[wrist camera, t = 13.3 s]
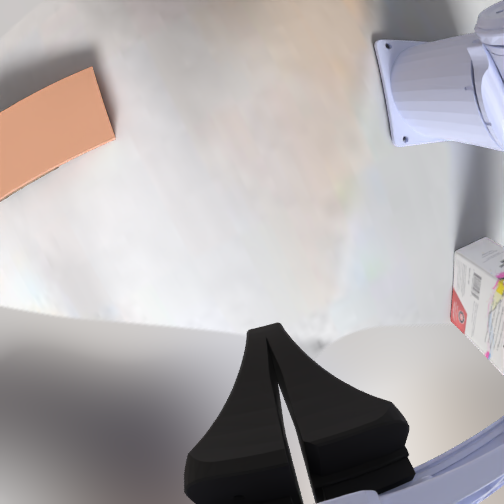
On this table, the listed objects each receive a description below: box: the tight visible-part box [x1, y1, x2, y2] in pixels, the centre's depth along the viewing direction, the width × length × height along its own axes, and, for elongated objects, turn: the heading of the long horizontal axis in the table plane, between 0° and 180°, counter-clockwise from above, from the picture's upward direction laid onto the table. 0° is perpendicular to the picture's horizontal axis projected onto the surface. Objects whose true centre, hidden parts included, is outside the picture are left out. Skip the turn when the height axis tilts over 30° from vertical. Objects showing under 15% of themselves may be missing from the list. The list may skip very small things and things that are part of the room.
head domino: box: [0, 67, 115, 200], centre depth 15 cm, size 2×5×9 cm
